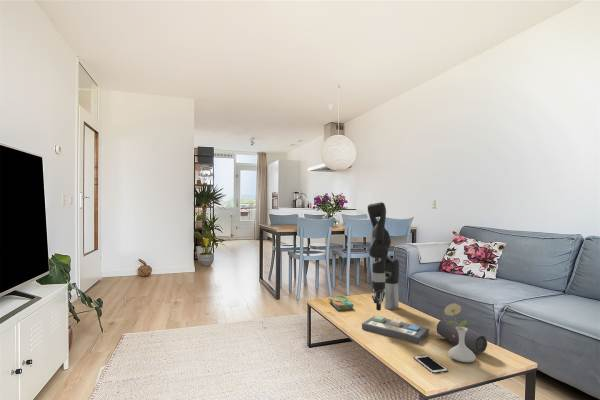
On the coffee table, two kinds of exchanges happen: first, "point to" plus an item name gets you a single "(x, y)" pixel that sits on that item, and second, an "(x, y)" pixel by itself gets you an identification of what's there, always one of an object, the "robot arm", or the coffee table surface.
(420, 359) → the cell phone
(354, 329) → the coffee table surface
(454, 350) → the flower in vase
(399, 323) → the button sand
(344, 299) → the puzzle game
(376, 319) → the button sage
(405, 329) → the button board
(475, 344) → the bluetooth speaker
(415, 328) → the button blue
